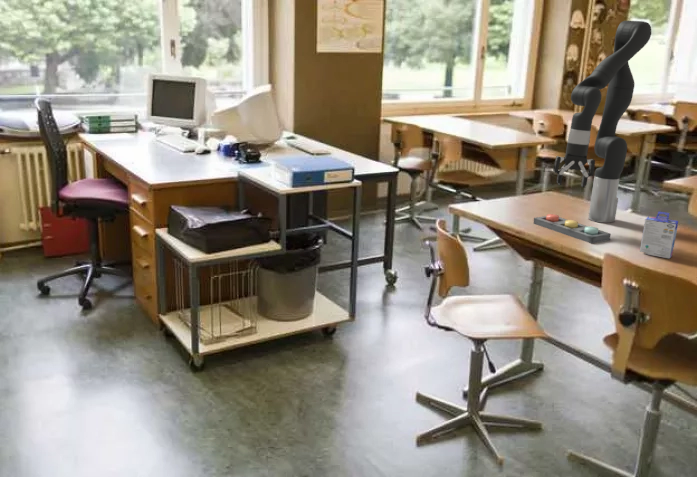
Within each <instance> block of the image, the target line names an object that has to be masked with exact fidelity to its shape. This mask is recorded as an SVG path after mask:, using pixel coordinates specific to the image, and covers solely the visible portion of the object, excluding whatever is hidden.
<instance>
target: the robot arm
mask: <svg viewBox="0 0 697 477" xmlns="http://www.w3.org/2000/svg"><path fill="white" fill-rule="evenodd" d="M651 36H652V26H651V24H650V23H649V22H647V21H643V20H623V21H621V22H620V23H619V25H618V26H617V29H616V31H615V36H614V47H613V53H612V54H610V55H608V56H607V57H605V58H604V59H602V61H601V62H599V63H598V65H597V66H596V67H595V68H594V69H593V71H592V72H591V74H590V75H588V76H587V77H585V78H584V79H583V80H582V81H581V82H579V83H577V85H575V87H574V88H573V90H572V92H571V94H570V100H571V103H572V104H574V105H575V106H579V107H583V109H582V111H580V112H576V113H574V114H572V119H571V123H570V131H569V133H568V136H567V137H568V138H567V143H566V149H565V155H564V157H562V156H559V155H557V156H556V157H555V160H554V165H553V169H552V171H553V173H555V174H557V178H556V183H557V185H558V186H561V185H562V182H563V177H564V176H563V175H564V173H565V172H567V171H568V170H572V171H573V170H575V171H579V170H580V172H581V174H582V177H581V183H580V187H582V188H584V187H585V186H587V183H588V178H589V177H594V178H593V184H592V189H591V190H592V191H591V198H590V203H589V209H588V210H589V211H588V220H590V221H593V222H598V223H614V222H616V215H617V209H618V203H619V198H618V197H617V196H618V192H619V191H618V189H619V184H620V179H621V178H620V177H621V174H622V173H623V171H624V167H625V162H626V157H627V153H628V152H627V151H628V144H627V143H628V142H627V141H626V139H624V138H622V137H619V136H617V135H616V131H617V126H618V123H619V121H620V120H621V118H622V116H623V115H624V114H625V112H626V111H627V110H628V108H629V107H630V105H631V103H632V99H633V95H634V90H635V79H634V76H633V72H632V70H631V67H630V65H629V61H630V60H631V59H632V58H633V57H634V56H635V55H636V54H638V52H640V51H641V50H642V49H643V48H644V47H645V46H646V45H647V44H648V42H649V41H650V39H651ZM606 87H607V91H606V96H605V102H604V108H603V112H602V117H601V120H600V125H599V128H598V132H597V134H596V138H595V142H594V147H593V148H594V154H595V155H596V156H597V157H598V158H601V159H604V162H603V165H602V166H601V167H597V168H596V169H595V164H596V160H595V159H593V158H590V159H588V158H587V156H588V153H589V152H588V151H589V146H590V143H591V140H590V139H591V130H592V124H593V120H594V117H595V116H596V114H597V112H598V108H599V106H600V105H601V101H602V92H601V90H603V89H605V88H606ZM562 162H564V164H563V165H562V166H561V168H560V164H561V163H562ZM586 164H587V165H588V172H587V170H586V168H585V165H586Z"/></svg>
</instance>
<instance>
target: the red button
mask: <svg viewBox="0 0 697 477" xmlns="http://www.w3.org/2000/svg"><path fill="white" fill-rule="evenodd" d="M545 216H546V220H547V221H550V222H558V221H559V217H560V216H559V214H553V213H552V214H551V213H547V214H546V215H545Z"/></svg>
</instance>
